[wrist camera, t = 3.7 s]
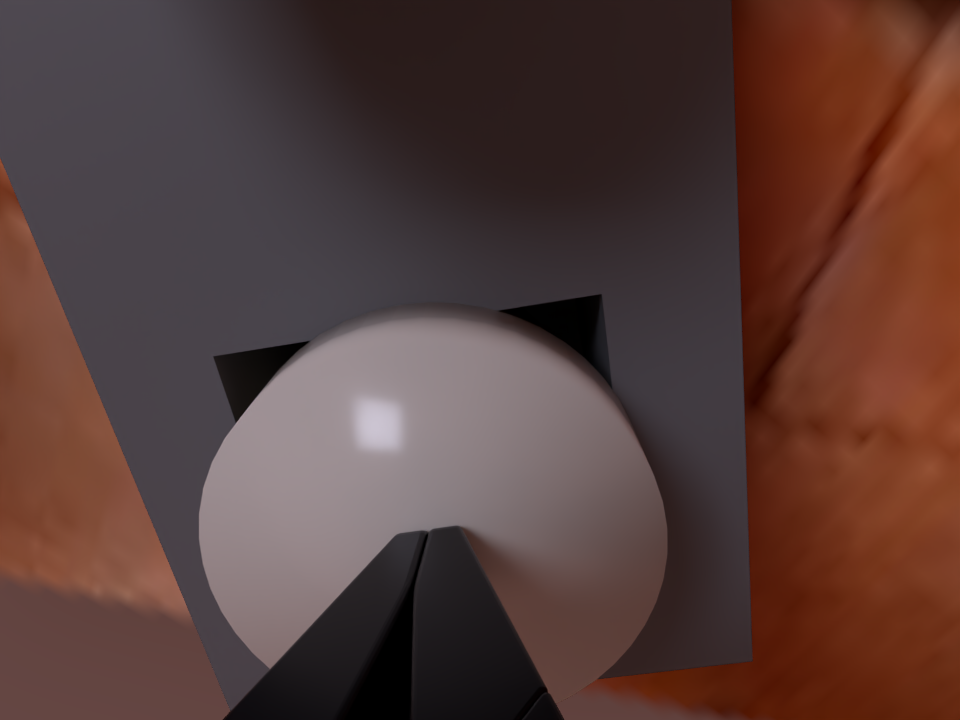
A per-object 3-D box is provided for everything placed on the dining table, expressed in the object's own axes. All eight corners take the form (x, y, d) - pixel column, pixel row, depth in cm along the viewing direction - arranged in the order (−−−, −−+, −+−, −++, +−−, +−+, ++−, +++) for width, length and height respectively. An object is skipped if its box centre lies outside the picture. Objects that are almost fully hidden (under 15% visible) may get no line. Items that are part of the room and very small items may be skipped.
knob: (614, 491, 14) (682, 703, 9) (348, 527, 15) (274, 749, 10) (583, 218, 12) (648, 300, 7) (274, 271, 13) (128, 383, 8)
